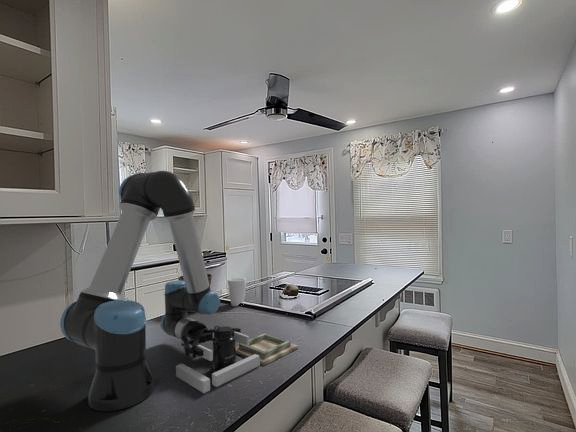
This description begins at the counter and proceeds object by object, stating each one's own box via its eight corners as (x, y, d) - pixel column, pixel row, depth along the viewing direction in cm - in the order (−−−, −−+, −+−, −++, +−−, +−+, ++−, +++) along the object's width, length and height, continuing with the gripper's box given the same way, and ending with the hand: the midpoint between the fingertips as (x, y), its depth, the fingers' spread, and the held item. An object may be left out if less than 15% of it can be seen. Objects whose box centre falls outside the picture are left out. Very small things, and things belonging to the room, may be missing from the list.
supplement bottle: (231, 374, 94) (230, 333, 94) (209, 372, 96) (208, 332, 95) (239, 363, 101) (238, 325, 101) (218, 362, 102) (217, 324, 102)
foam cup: (245, 306, 162) (244, 280, 162) (226, 307, 163) (226, 281, 162) (247, 301, 172) (247, 277, 172) (230, 301, 172) (229, 277, 172)
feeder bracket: (203, 393, 85) (203, 381, 85) (175, 376, 94) (175, 365, 94) (259, 365, 99) (259, 355, 99) (231, 353, 109) (230, 344, 109)
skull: (273, 296, 179) (280, 280, 184) (282, 305, 185) (289, 289, 190) (291, 298, 172) (298, 281, 177) (300, 308, 178) (306, 291, 183)
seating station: (264, 365, 100) (264, 357, 100) (231, 351, 110) (231, 343, 110) (297, 348, 112) (297, 341, 111) (265, 337, 122) (265, 330, 122)
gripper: (221, 332, 119) (261, 347, 105) (156, 354, 101) (193, 377, 87) (221, 311, 119) (261, 324, 105) (155, 330, 101) (193, 349, 87)
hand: (231, 348), depth 96 cm, fingers open, 13 cm apart
